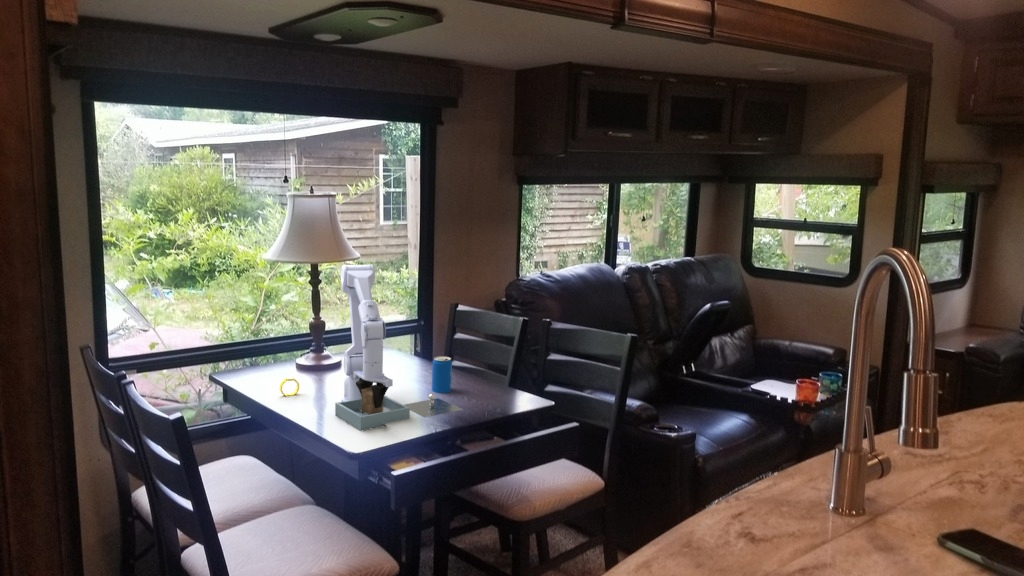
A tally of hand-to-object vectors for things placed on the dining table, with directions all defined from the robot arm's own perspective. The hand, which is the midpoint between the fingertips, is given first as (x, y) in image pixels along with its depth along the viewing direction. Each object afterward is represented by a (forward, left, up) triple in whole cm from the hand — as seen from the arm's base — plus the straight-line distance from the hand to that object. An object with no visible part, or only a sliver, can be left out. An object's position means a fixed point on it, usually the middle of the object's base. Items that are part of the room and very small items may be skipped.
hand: (372, 405), depth 218 cm
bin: (0, 0, -4) cm, 4 cm away
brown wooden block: (0, 0, -2) cm, 2 cm away
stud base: (+3, +19, -4) cm, 20 cm away
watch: (-35, -11, -4) cm, 37 cm away
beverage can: (-11, +32, -4) cm, 34 cm away
